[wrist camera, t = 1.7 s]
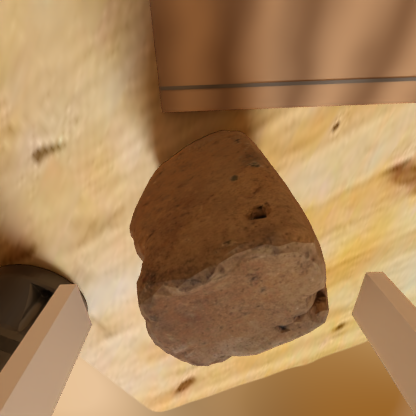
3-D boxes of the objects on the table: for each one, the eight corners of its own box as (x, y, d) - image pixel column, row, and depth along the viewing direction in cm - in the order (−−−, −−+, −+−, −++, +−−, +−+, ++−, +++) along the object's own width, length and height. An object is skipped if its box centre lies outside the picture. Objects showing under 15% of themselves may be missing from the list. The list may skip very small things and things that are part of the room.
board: (164, 109, 25) (162, 112, 23) (150, -22, 20) (146, -32, 19) (403, 100, 25) (419, 102, 23) (442, -31, 21) (467, -42, 19)
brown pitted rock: (241, 117, 26) (334, 210, 8) (262, 180, 29) (362, 345, 11) (147, 158, 27) (52, 309, 10) (178, 213, 31) (148, 402, 13)
